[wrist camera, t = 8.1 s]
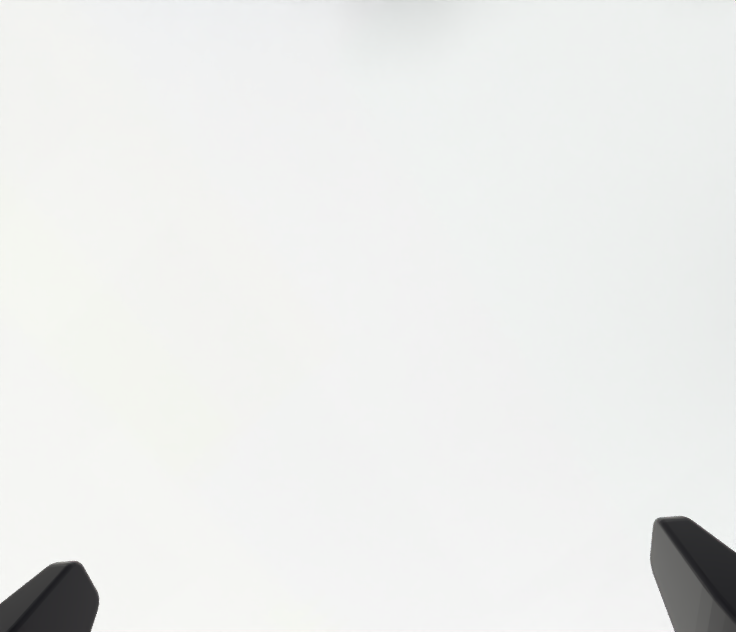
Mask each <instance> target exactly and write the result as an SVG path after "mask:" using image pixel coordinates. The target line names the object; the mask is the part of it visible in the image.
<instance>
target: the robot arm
mask: <svg viewBox="0 0 736 632" xmlns="http://www.w3.org/2000/svg"><path fill="white" fill-rule="evenodd" d="M650 562H651V568H652V571H653V575H654V578H655V580H656V583H657V585H658V588H659V591H660V593H661V596H662V599H663V601H664V604H665V607H666V609H667V612H668V615H669V617H670V620H671V623H672V625H673V628H674V631H675V632H736V552H734V551H733V550H732V549H730V548H729V547H728V546H726V545H725V544H724V543H722V542H721V541H720V540H718V539H717V538H715V537H714V536H713V535H711V534H710V533H709V532H707V531H706V530H705V529H703V528H702V527H701V526H699V525H698V524H697V523H695V522H694V521H692V520H691V519H689V518H687V517H684V516H674V517H660V518H657V519H656V520H655V521H654V524H653V532H652V542H651V553H650ZM98 606H99V595H98V592H97V590H96V588H95V586H94V585H93V583H92V581H91V579H90V577H89V576H88V574H87V572H86V570H85V568H84V567H83V565H82V564H81V563H79V562H78V561H67V562H56V563H53V564H51V565H49V566H48V567H46V568H45V569H44V570H43V571H41V572H40V573H39V574H37V575H36V576H35V577H34V578H32V579H31V580H30V581H29V582H27V583H26V584H25V585H23V586H22V587H21V588H20V589H18V590H17V591H16V592H15V593H13V594H12V595H11V596H9V597H8V598H7V599H6V600H4V601H3V602H2V603H1V604H0V632H91V629H92V626H93V623H94V620H95V617H96V614H97V611H98Z"/></svg>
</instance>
